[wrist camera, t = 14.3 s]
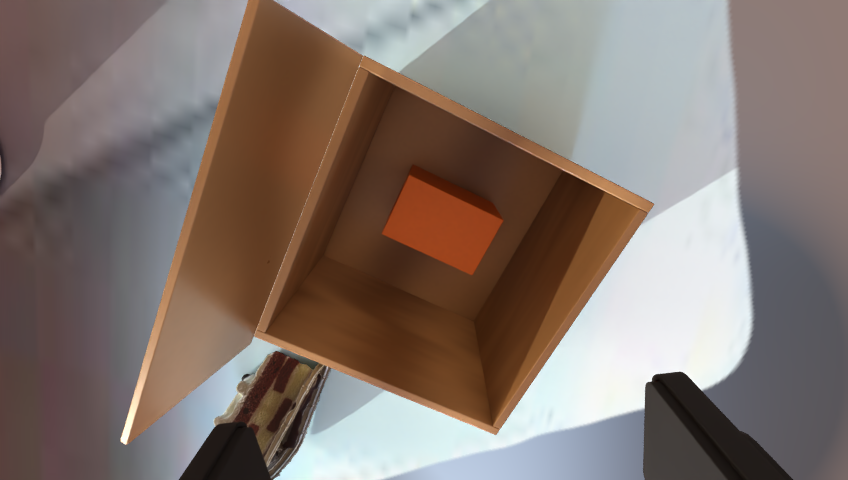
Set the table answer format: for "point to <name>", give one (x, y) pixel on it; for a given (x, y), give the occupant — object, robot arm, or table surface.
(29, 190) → the table surface
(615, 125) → the table surface
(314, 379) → the chocolate cake
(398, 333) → the carton
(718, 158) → the table surface
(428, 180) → the block
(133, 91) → the table surface
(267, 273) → the flap
